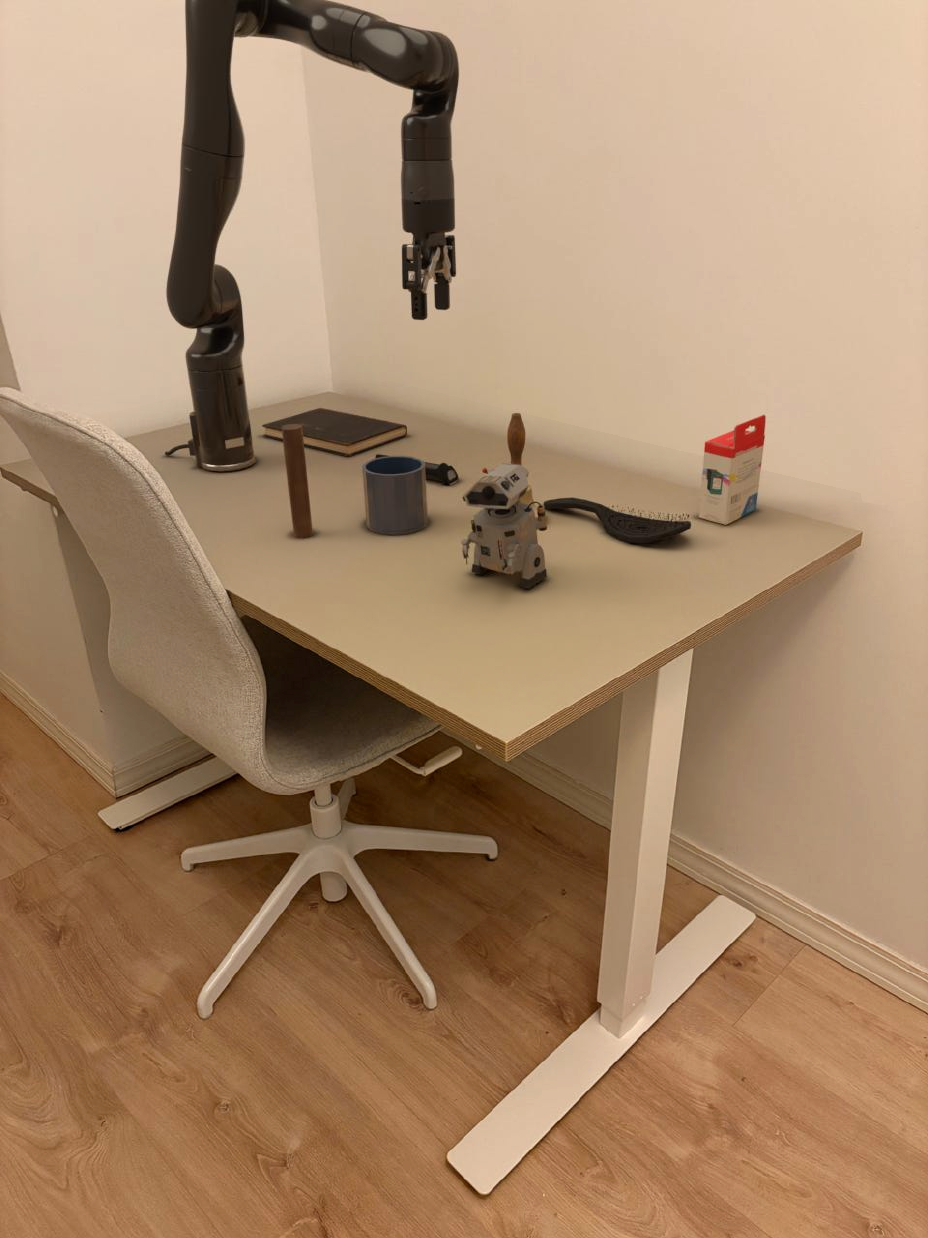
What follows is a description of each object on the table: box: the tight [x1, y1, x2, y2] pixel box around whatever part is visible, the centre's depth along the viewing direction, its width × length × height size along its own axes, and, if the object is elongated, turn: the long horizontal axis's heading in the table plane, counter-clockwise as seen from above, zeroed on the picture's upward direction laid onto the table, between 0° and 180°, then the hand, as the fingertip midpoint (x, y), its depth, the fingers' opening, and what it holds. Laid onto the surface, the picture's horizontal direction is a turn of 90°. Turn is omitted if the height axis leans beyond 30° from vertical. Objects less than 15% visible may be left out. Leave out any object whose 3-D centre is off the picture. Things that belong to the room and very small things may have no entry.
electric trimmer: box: [374, 453, 459, 486], centre depth 163 cm, size 4×16×3 cm, turn 58°
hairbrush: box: [543, 497, 692, 544], centre depth 141 cm, size 8×4×25 cm
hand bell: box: [506, 412, 538, 517], centre depth 140 cm, size 8×8×16 cm
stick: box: [282, 424, 314, 539], centre depth 137 cm, size 3×3×16 cm
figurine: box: [460, 463, 548, 590], centre depth 121 cm, size 9×12×15 cm
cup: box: [361, 455, 428, 536], centre depth 142 cm, size 9×9×9 cm
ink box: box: [698, 414, 767, 526], centre depth 141 cm, size 8×5×15 cm, turn 134°
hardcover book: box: [261, 407, 408, 458], centre depth 185 cm, size 16×23×2 cm
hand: (431, 314), depth 144 cm, fingers open, 8 cm apart
